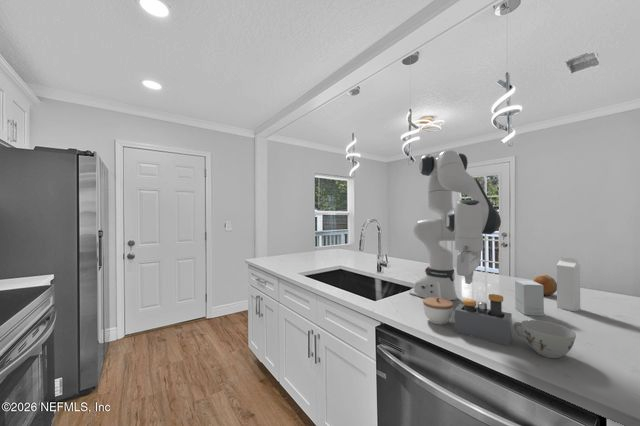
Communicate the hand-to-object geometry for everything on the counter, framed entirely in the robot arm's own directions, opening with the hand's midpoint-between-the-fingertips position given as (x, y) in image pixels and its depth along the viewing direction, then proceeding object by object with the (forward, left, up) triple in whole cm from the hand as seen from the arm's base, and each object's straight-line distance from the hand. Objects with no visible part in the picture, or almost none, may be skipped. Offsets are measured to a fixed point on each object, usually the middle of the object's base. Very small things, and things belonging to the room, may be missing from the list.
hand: (468, 282), depth 96 cm
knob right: (+8, 0, -12) cm, 15 cm away
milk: (+29, +51, -18) cm, 61 cm away
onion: (+21, +69, -18) cm, 74 cm away
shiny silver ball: (+4, 0, -9) cm, 10 cm away
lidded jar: (-11, +2, -18) cm, 21 cm away
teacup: (+20, -2, -18) cm, 27 cm away
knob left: (0, 0, -16) cm, 16 cm away
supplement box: (+16, +35, -18) cm, 42 cm away
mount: (+4, 0, -17) cm, 18 cm away
